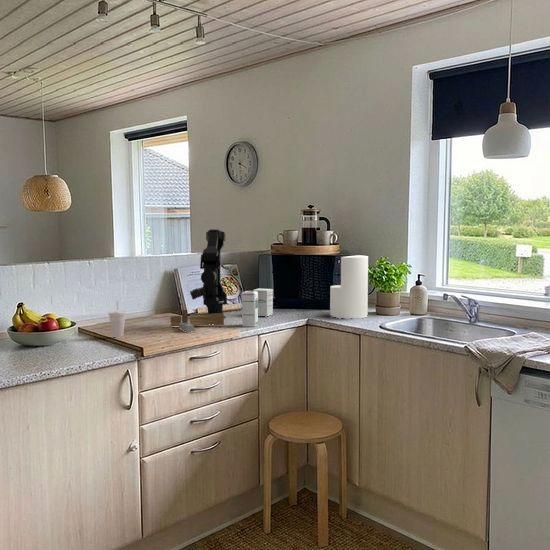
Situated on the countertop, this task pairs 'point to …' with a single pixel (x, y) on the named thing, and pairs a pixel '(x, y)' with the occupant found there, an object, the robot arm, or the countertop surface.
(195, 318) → the gate
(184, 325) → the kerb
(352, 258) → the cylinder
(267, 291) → the supplement box
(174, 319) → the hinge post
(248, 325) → the white miniature cabinet
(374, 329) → the countertop surface
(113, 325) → the smoothie
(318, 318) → the countertop surface
